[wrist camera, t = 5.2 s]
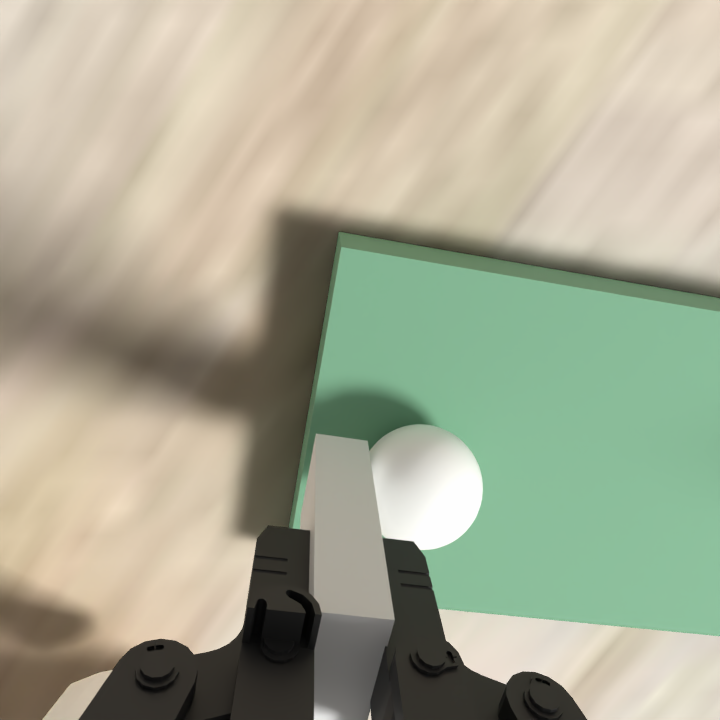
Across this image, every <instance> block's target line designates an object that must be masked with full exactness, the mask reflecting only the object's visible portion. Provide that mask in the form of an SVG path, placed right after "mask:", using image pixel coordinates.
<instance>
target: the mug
mask: <svg viewBox="0 0 720 720" xmlns="http://www.w3.org/2000/svg"><path fill="white" fill-rule="evenodd" d="M111 672H112V670H109V671H104V672H99V673H97V674H94V675H92V676H89V677H87V678H84V679H81V680H79V681H76V682H74V683H71V684H70V685H69V686H68V687H67V689H66V690H65V691H64V693H63V694H62V695H61V696H60V698H59V699H58V700H57V701H56V703H55V704H54V705H53V707H52V708H51V709H50V710H49V712H48V713H47V714H46V715H45V717H44V718H43V719H42V720H79V718H80V717H81V715H82V714H83V712H84V711H85V709H86V708H87V707H88V705H89V704H90V702H91V701H92V699H93V698H94V696H95V695H96V694H97V692H98V691H99V689H100V688H101V686H102V685H103V683H104V682H105V681H106V679H107V678H108V676H109V675H110V673H111Z"/></svg>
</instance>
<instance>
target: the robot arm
mask: <svg viewBox="0 0 720 720" xmlns="http://www.w3.org/2000/svg"><path fill="white" fill-rule="evenodd" d="M432 588H433V586H432V582H431V578H430V576H429V570H428V565H427V561H426V557H425V556H424V554H423V553H422V552H421V550H420V549H419V548H418V547H417V545H416V544H415V543H414V541H406V540H397V539H389V538H382V532H381V526H380V519H379V512H378V506H377V499H376V493H375V486H374V479H373V473H372V466H371V459H370V453H369V446H368V441H366V440H359V439H352V438H344V437H337V436H330V435H323V434H316V436H315V441H314V446H313V452H312V457H311V462H310V468H309V473H308V478H307V484H306V489H305V494H304V500H303V505H302V510H301V519H300V529H293V528H285V527H277V526H267V527H266V529H265V530H264V531H263V532H262V533H261V535H260V536H259V537H258V538H257V543H256V549H255V555H254V561H253V568H252V574H251V580H250V586H249V593H248V599H247V606H246V613H245V619H244V625H243V628H242V630H241V632H240V633H239V634H238V636H237V637H236V638H235V639H234V640H233V641H232V642H230V643H229V644H227V645H225V646H224V647H222V648H220V649H217V650H213V651H210V652H206V653H200V654H195V655H194V654H193V653H192V652H191V651H190V650H189V648H188V647H186V646H185V645H183V644H181V643H179V642H177V641H173V640H165V639H157V640H151V641H146V642H143V643H141V644H139V645H137V646H135V647H133V648H131V649H130V650H129V651H128V652H127V653H126V654H125V655H124V656H123V657H122V658H121V659H120V660H119V662H118V663H117V665H116V666H115V668H114V669H113V670H112V672H111V673H110V675H109V676H108V678H107V679H106V681H105V682H104V683H103V685H102V686H101V688H100V689H99V691H98V692H97V694H96V695H95V696H94V698H93V699H92V701H91V702H90V704H89V705H88V707H87V708H86V709H85V711H84V712H83V714H82V715H81V717H80V718H79V720H368V716H369V712H370V709H371V717H372V720H587V719H586V717H585V716H584V714H583V713H582V711H581V710H580V709H579V707H578V706H577V704H576V703H575V701H574V700H573V698H572V697H571V696H570V695H569V694H568V692H567V691H566V690H565V689H564V688H563V687H562V686H561V685H559V684H558V683H557V682H555V681H554V680H552V679H551V678H549V677H547V676H544V675H542V674H539V673H536V672H520V673H518V674H515V675H513V676H512V677H511V678H510V680H509V681H508V682H507V684H503V683H500V682H498V681H495V680H493V679H490V678H487V677H485V676H482V675H480V674H478V673H476V672H474V671H472V670H470V669H469V668H467V667H466V666H465V665H464V663H463V661H462V659H461V657H460V655H459V653H458V652H457V651H456V649H455V648H454V647H453V646H452V645H451V644H450V643H449V642H447V641H446V639H445V635H444V631H443V627H442V623H441V619H440V615H439V611H438V607H437V602H436V598H435V594H434V590H432Z"/></svg>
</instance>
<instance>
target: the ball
mask: <svg viewBox="0 0 720 720" xmlns="http://www.w3.org/2000/svg"><path fill="white" fill-rule="evenodd" d="M369 453H370V459H371V466H372V473H373V479H374V486H375V493H376V499H377V506H378V512H379V519H380V526H381V532H382V535H383V536H384V537H385V538H389V539H397V540H406V541H414V543H415V544H416V545H417V547H418V548H419V549H420V550H430V549H436V548H440V547H443V546H445V545H448V544H450V543H452V542H453V541H455V540H456V539H458V538H459V537H460V536H462V535H463V534H464V533H465V532H466V531H467V529H468V528H469V527H470V526H471V524H472V523H473V522H474V520H475V518H476V516H477V514H478V511H479V509H480V506H481V502H482V494H483V482H482V475H481V471H480V468H479V465H478V463H477V460H476V459H475V457H474V455H473V454H472V452H471V450H470V449H469V448H468V447H467V446H466V445H465V443H464V442H463V441H461V440H460V439H459V438H458V437H457V436H455V435H454V434H452V433H450V432H449V431H447V430H444V429H442V428H440V427H436V426H432V425H425V424H414V425H408V426H403V427H400V428H398V429H395V430H393V431H391V432H389V433H388V434H386V435H385V436H383V437H382V438H381V439H380V440H379V441H378V442H377V443H376V444H375V445H374V446H373V447H372V448H371V450H370V451H369Z"/></svg>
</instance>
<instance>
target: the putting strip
mask: <svg viewBox="0 0 720 720" xmlns="http://www.w3.org/2000/svg"><path fill="white" fill-rule="evenodd" d="M414 424H425V425H432V426H436V427H440V428H442V429H444V430H447V431H449V432H450V433H452V434H454V435H455V436H457V437H458V438H459V439H460V440H461V441H463V442H464V443H465V445H466V446H467V447H468V448H469V449H470V450H471V452H472V454H473V455H474V457H475V459H476V460H477V463H478V465H479V468H480V471H481V475H482V482H483V494H482V502H481V506H480V509H479V511H478V514H477V516H476V518H475V520H474V522H473V523H472V524H471V526H470V527H469V528H468V529H467V531H466V532H465V533H464V534H463V535H462V536H460V537H459V538H458V539H456V540H455V541H453V542H452V543H450V544H448V545H445V546H443V547H440V548H436V549H430V550H421V552H422V553H423V554H424V556H425V557H426V561H427V565H428V570H429V576H430V578H431V582H432V586H433V588H432V590H434V594H435V598H436V602H437V607H438V609H447V610H457V611H467V612H477V613H488V614H498V615H508V616H518V617H529V618H539V619H549V620H559V621H570V622H580V623H590V624H600V625H611V626H621V627H631V628H641V629H652V630H662V631H672V632H682V633H693V634H703V635H713V636H720V298H717V297H711V296H705V295H700V294H694V293H688V292H682V291H677V290H671V289H665V288H660V287H654V286H648V285H642V284H637V283H631V282H625V281H619V280H614V279H608V278H602V277H596V276H591V275H585V274H579V273H574V272H568V271H562V270H556V269H551V268H545V267H539V266H533V265H528V264H522V263H516V262H510V261H505V260H499V259H493V258H488V257H482V256H476V255H470V254H465V253H459V252H453V251H447V250H442V249H436V248H430V247H424V246H419V245H413V244H407V243H402V242H396V241H390V240H384V239H379V238H373V237H367V236H361V235H356V234H350V233H344V232H339V233H338V239H337V245H336V251H335V257H334V263H333V269H332V274H331V280H330V286H329V292H328V298H327V304H326V310H325V316H324V322H323V328H322V333H321V339H320V345H319V351H318V357H317V363H316V369H315V375H314V381H313V386H312V392H311V398H310V404H309V410H308V416H307V422H306V428H305V434H304V440H303V445H302V451H301V457H300V463H299V469H298V475H297V481H296V487H295V493H294V498H293V504H292V510H291V516H290V522H289V528H293V529H300V519H301V510H302V505H303V500H304V494H305V489H306V484H307V478H308V473H309V468H310V462H311V457H312V452H313V446H314V441H315V436H316V434H323V435H330V436H337V437H344V438H352V439H359V440H366V441H368V446H369V451H370V450H371V448H372V447H373V446H374V445H375V444H376V443H377V442H378V441H379V440H380V439H381V438H382V437H383V436H385V435H386V434H388V433H389V432H391V431H393V430H395V429H398V428H400V427H403V426H408V425H414ZM382 538H385V537H384V536H383V535H382Z"/></svg>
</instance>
